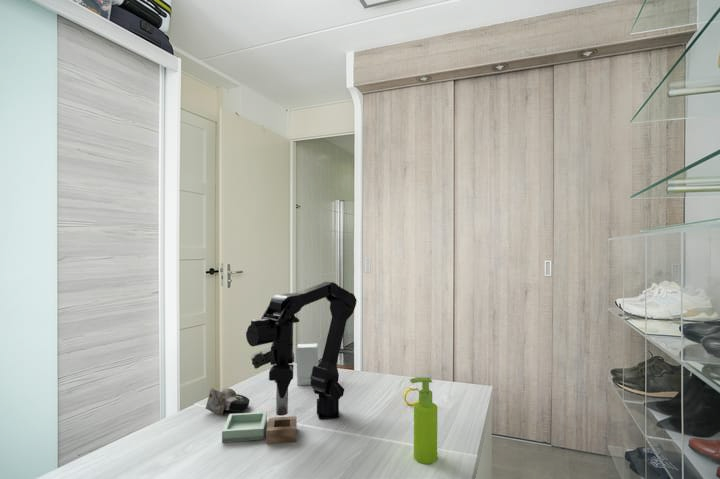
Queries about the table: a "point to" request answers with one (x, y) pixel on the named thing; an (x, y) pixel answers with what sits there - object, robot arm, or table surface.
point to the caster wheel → (226, 401)
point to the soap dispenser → (425, 424)
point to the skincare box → (306, 362)
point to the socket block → (281, 430)
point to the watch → (407, 392)
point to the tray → (244, 427)
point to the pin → (281, 403)
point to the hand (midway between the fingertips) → (282, 395)
